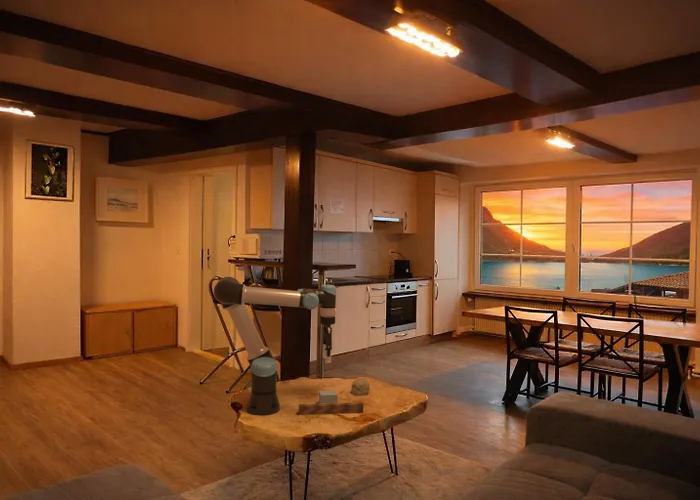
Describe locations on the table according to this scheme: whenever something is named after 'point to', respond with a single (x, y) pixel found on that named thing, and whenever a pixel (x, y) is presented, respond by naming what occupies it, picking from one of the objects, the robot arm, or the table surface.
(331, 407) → the brown wooden bar
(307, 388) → the table surface
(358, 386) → the decorative object
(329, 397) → the block
